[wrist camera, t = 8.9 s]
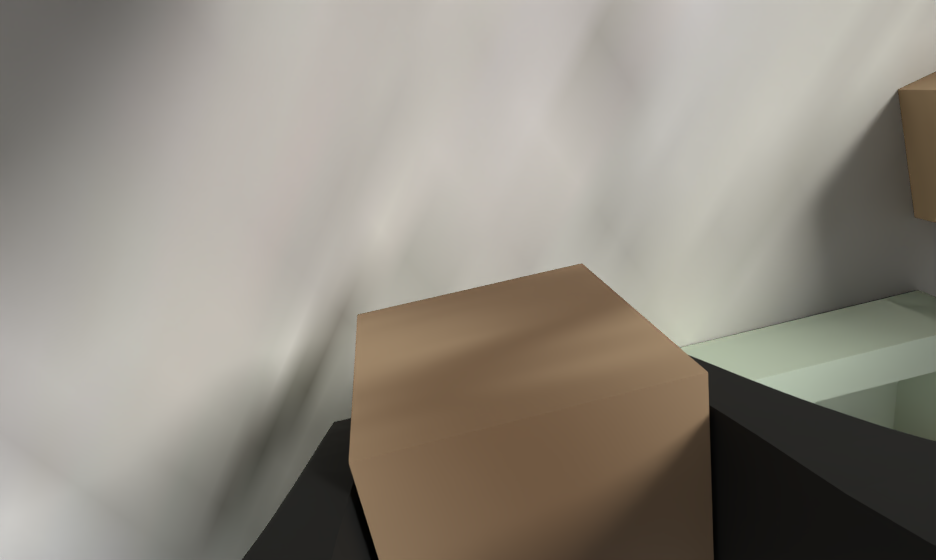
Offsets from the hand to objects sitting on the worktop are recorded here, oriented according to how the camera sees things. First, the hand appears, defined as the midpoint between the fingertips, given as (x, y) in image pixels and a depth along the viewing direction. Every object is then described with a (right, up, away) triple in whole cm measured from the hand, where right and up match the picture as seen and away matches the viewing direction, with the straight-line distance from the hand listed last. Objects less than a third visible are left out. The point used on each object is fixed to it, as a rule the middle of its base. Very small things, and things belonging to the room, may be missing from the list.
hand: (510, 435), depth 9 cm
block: (0, 0, +1) cm, 2 cm away
